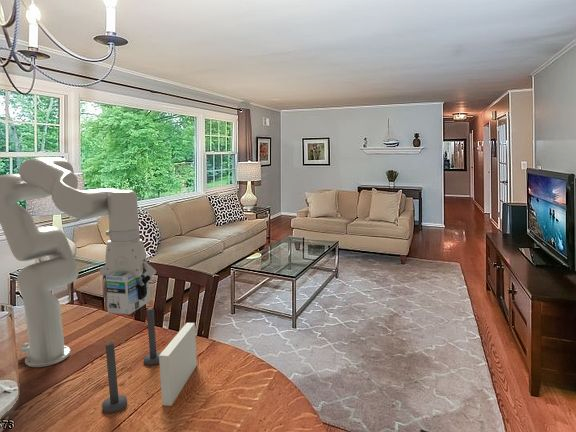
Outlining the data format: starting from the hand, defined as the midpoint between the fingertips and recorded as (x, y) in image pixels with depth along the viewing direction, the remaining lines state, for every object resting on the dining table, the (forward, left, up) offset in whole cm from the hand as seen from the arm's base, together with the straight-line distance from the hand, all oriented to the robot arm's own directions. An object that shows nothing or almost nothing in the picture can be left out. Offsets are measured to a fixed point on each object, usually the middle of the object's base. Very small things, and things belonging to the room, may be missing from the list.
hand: (129, 297), depth 111 cm
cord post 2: (0, +11, -26) cm, 28 cm away
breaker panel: (+14, 0, -26) cm, 29 cm away
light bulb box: (0, 0, -3) cm, 3 cm away
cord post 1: (0, -12, -26) cm, 28 cm away
